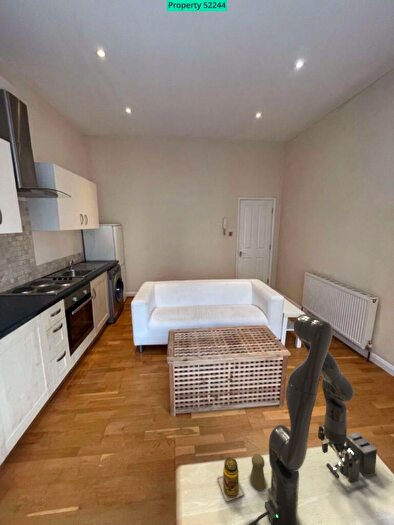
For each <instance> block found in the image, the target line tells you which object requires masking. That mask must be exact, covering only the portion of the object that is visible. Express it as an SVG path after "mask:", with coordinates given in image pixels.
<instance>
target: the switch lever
mask: <svg viewBox="0 0 394 525" xmlns="http://www.w3.org/2000/svg"><path fill="white" fill-rule="evenodd" d="M347 451H348V452H352V451H351V450H350V449H348V450H347ZM352 454H353V455H354V453H353V452H352ZM342 460H343V461H344V459H342ZM340 464H341V463H340V460H338V462H337V463H336V464H335V465H333V466H332V465H331V464H330V463H329V462H328V463H326V464H325V467H326V468H327V469H328V470H329V472H330V473H331V474H332V475H333V477H335V479H336V480H339V479H340V474H339V473H338V472H337V471H338V470H340Z"/></svg>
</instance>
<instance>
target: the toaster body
mask: <svg viewBox="0 0 394 525" xmlns="http://www.w3.org/2000/svg"><path fill="white" fill-rule="evenodd" d="M346 445H350V446H351V451H352V452H353V453H354V454H357V453H358V454H359V455H360V467H359V475H361V476H362V477H366V476H368V475H371V474H373V473H375V472H376V465H377V453H378V448H377V446H375V445H374V444H373V443H371V442H370V441H369V440H368V439H367V438H366V437H365V436H364V435H362V434H361V433H360V432H359V431H356V432H353V433H350V434H346V442H345V446H346Z"/></svg>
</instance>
